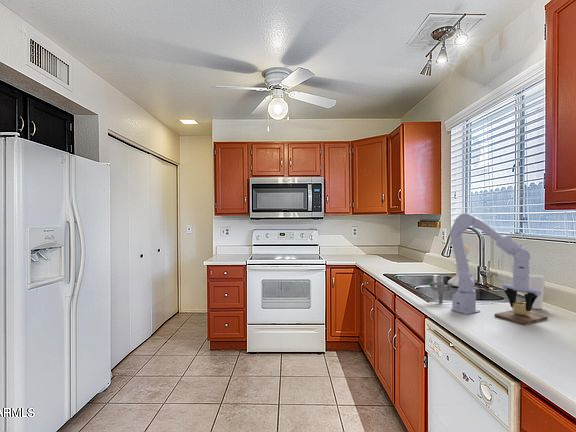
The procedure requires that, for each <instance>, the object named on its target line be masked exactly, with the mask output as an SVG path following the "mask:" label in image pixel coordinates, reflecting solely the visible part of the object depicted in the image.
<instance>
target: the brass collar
mask: <svg viewBox="0 0 576 432" xmlns="http://www.w3.org/2000/svg"><path fill="white" fill-rule="evenodd" d="M511 308H512V309H511V310H512V312H513V313H516V314H520V315H529V314H530V312H531V311H526V301H525V302H523V301H517V300H516V301H515V302H512V307H511Z"/></svg>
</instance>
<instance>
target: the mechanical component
mask: <svg viewBox="0 0 576 432" xmlns="http://www.w3.org/2000/svg"><path fill="white" fill-rule="evenodd" d="M429 287H430V289H431V290H432V291H435V292H437V294H438V303H439V304H440V305H441V304H443V299H444V298H443V295H444V292H450V291H451V289H452V287H453V286H452V283H448V282H447V284H445V282H443V281H442V282H441V281H436V282H435V281H434V282H433V281H432V282H430V283H429Z"/></svg>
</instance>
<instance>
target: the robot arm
mask: <svg viewBox="0 0 576 432" xmlns="http://www.w3.org/2000/svg"><path fill="white" fill-rule="evenodd" d="M469 227H471V228H473V229H478V230H480V231H482V232H483V233H484V234H486V235H487V236H488V237H490V238H491V239H493V240H494V241H495V245H496V247H498V248H499V249H501V250H502V251H503V252H505V253H506V254H507V255H509V256H512V258H513V265H512V284H510V283H502V284H501V285H502V287H501V288H502V289H504V293H505V295H506V296H507V299H508V301H509V304H510V308H512V302H515V301H517V294H518V292H520V293H524V299H525V303H526V311H530V312H531V311H532V306H533V303H534V301H535V300H536V298H537V297H538V296H540V295H541V291H540V290H536V289H533V288H529V274H530V259H531V254H530V252H529V251H528V250H527V249H526V248H525V247H523V245H522V244H519V243H517V242H516V241H515V240H514V239H513V237H512V236H510V235H509V236H508V235H507V234H506V235H505V234H504V235H503V234H502V235H501V234H500V233H499V232H497V231H496V230H495V229H494V228H492V227H491V226H490V225H488V224H487V223H486V222H485V221H483V220H482V219H480V218H478V217H477V216H474V215H473V214H472V213H469V212H464V213H461V214H459V215H458V216H457V217H456V218H455V219H454V222H453V225H452V226H451V228H450V231H449V235H450V241H451V244H452V249H453V254H454V257H455V262H456V264H457V268H458V277H459V281H458V287H457V291H456V292H454V293H453V295H452V304H451V305H452V308H450V310H451V311H454V312H457V313H461V314H464V315H469V314H470V315H471V314H476V313H479V312H481V310H479V309H476V307H477V306H476V302H477V299H476V297H477V295H476V294H477V293H476V290H475V288H474V287H475V284H476V279H475V277H474V276H473V275H472V273H471V270H470V265H469V262H468V261H467V259H468V257H467V256H468V255H467V256H466V252H465V247H464V245H465V244H464V239H463V233H465V232H466V230H467V229H468V228H469ZM527 293H528V294H527Z"/></svg>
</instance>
